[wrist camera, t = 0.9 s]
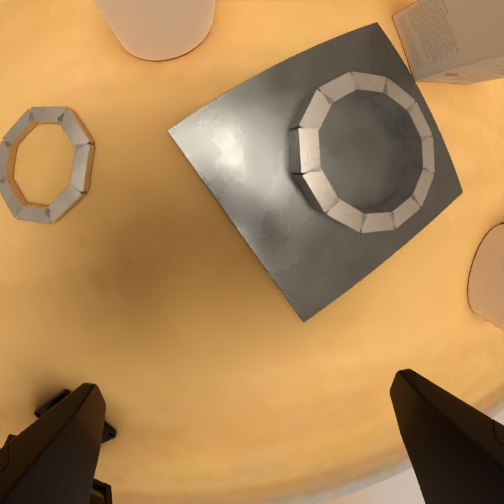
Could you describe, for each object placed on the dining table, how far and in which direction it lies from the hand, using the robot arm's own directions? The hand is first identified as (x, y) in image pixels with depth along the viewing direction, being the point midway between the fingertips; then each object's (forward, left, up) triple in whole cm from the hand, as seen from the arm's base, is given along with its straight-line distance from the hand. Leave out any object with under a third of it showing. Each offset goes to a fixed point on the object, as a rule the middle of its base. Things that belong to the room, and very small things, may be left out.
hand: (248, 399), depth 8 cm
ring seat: (+11, +1, -13) cm, 17 cm away
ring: (-6, +13, -13) cm, 19 cm away
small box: (+25, +5, -13) cm, 29 cm away
